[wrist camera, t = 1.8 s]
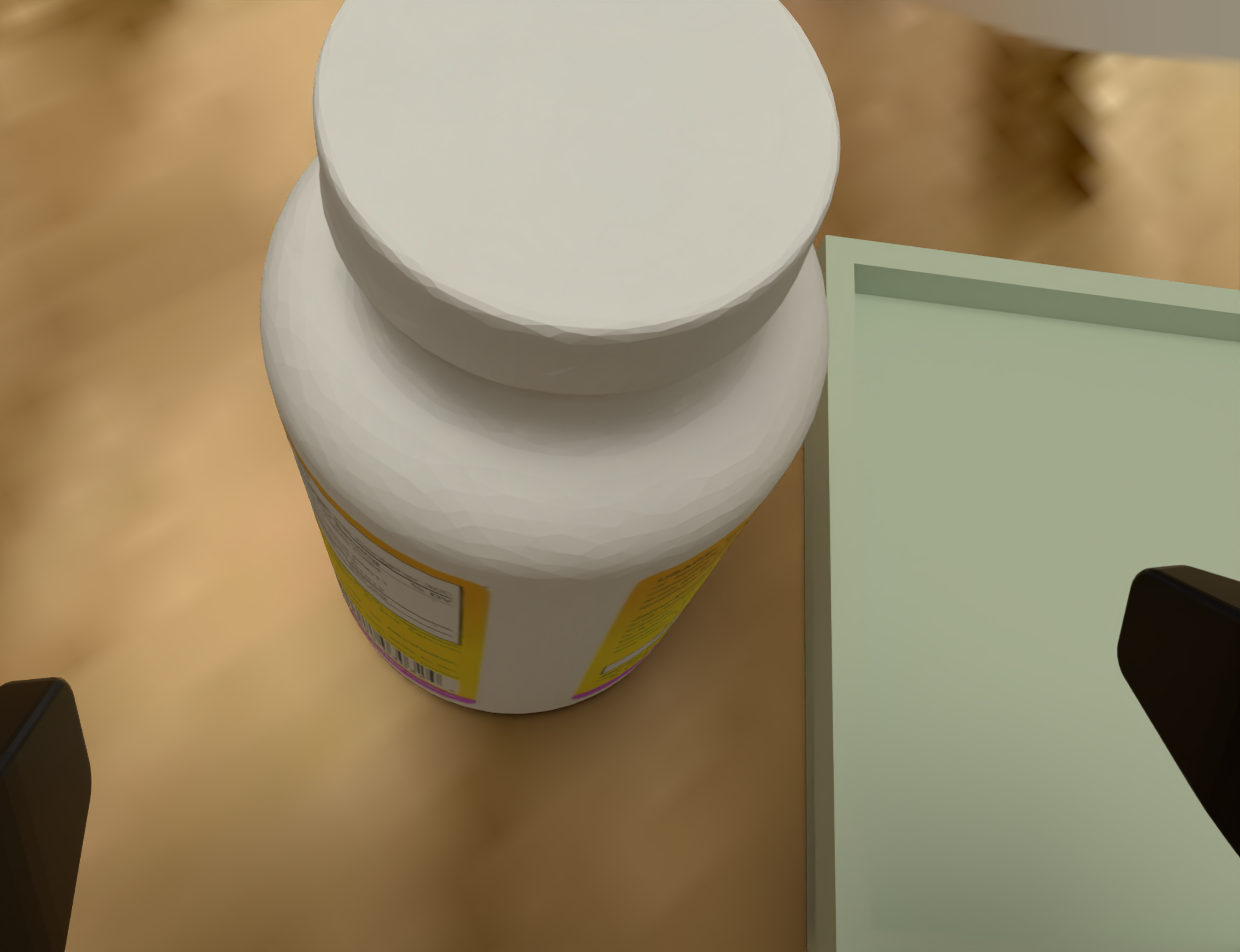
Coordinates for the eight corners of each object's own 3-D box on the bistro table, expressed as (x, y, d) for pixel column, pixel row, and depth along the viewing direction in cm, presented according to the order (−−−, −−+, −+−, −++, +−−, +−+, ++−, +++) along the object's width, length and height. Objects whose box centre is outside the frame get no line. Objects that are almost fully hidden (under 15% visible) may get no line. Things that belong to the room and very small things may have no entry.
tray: (1378, 350, 26) (1433, 316, 25) (1523, 1004, 21) (1605, 1010, 20) (803, 275, 25) (825, 234, 23) (806, 962, 20) (836, 966, 18)
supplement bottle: (680, 402, 23) (924, -131, 11) (686, 725, 21) (1004, 474, 9) (351, 381, 22) (243, -222, 10) (316, 715, 20) (128, 423, 8)
